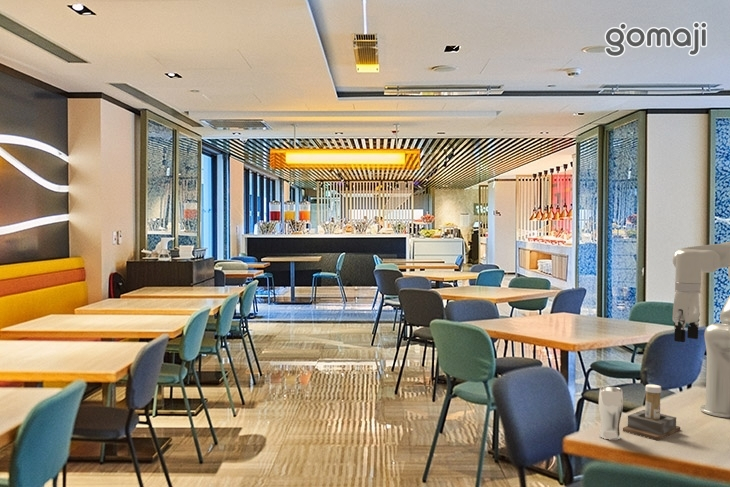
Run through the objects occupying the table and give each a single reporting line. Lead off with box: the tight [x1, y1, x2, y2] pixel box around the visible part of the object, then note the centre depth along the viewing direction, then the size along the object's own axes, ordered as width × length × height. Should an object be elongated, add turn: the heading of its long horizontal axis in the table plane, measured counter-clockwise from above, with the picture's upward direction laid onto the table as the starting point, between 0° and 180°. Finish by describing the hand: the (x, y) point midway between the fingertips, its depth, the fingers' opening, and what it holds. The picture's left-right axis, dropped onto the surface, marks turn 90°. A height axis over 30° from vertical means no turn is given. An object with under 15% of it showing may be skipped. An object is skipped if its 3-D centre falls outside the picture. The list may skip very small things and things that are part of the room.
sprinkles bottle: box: [644, 384, 662, 421], centre depth 201 cm, size 5×5×14 cm
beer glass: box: [598, 385, 624, 441], centre depth 193 cm, size 7×7×15 cm
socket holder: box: [622, 409, 681, 441], centre depth 201 cm, size 16×11×4 cm
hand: (686, 339), depth 206 cm, fingers open, 9 cm apart
